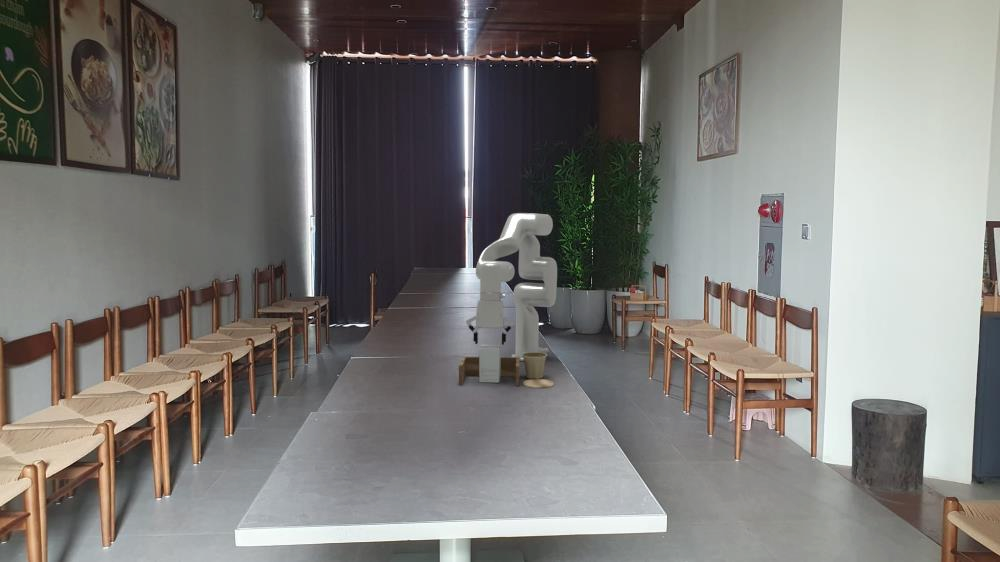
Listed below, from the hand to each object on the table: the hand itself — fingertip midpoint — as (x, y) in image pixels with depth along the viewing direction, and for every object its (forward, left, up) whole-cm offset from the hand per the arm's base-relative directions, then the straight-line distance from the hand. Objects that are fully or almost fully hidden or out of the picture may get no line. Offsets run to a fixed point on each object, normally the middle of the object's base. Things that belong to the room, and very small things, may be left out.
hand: (489, 343), depth 273 cm
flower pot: (-17, +3, -14) cm, 22 cm away
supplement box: (0, 0, -14) cm, 14 cm away
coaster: (-13, +13, -14) cm, 23 cm away
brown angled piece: (0, 0, -14) cm, 14 cm away
